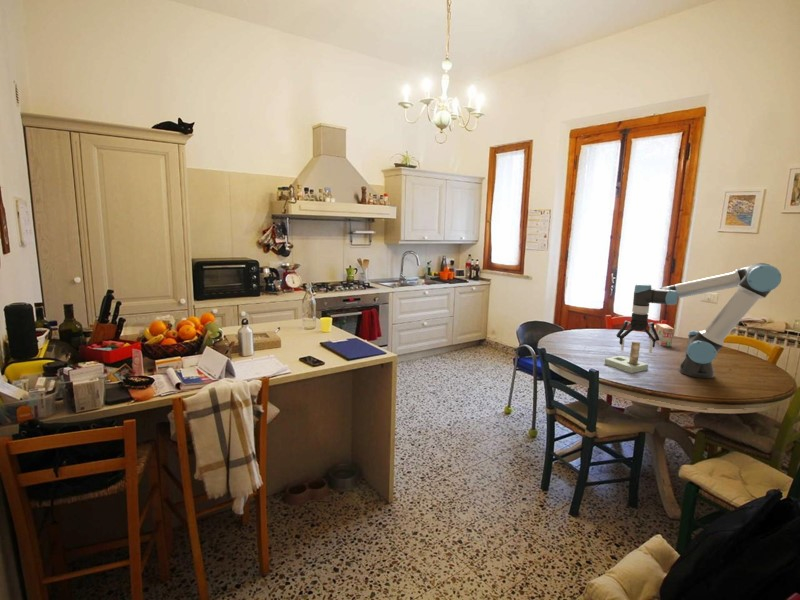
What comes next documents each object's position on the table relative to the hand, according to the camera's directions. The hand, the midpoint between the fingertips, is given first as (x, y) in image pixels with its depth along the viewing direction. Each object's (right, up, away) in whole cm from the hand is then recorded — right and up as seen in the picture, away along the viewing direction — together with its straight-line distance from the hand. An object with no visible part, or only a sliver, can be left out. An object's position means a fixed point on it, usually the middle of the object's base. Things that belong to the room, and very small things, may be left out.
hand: (636, 351), depth 223 cm
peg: (-1, -10, +2) cm, 10 cm away
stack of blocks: (+49, -1, +58) cm, 76 cm away
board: (-2, -9, +6) cm, 11 cm away
